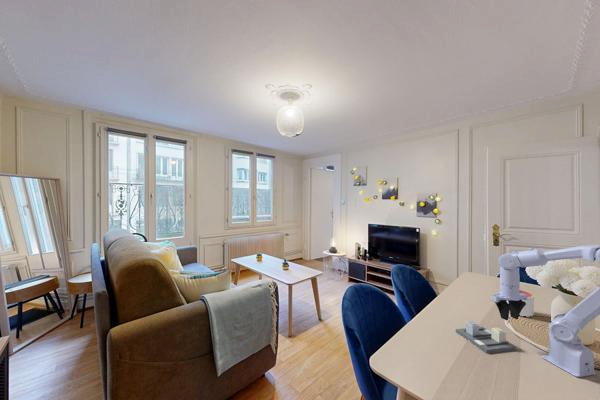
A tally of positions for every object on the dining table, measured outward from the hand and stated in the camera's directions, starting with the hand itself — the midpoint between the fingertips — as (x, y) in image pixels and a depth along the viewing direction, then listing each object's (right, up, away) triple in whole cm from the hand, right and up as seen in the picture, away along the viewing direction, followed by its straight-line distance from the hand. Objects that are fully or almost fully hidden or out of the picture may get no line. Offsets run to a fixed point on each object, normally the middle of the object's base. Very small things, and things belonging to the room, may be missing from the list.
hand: (509, 318), depth 90 cm
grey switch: (-12, -8, +4) cm, 15 cm away
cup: (+27, -10, +24) cm, 37 cm away
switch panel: (-9, -9, +1) cm, 13 cm away
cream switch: (-5, -8, -1) cm, 9 cm away
